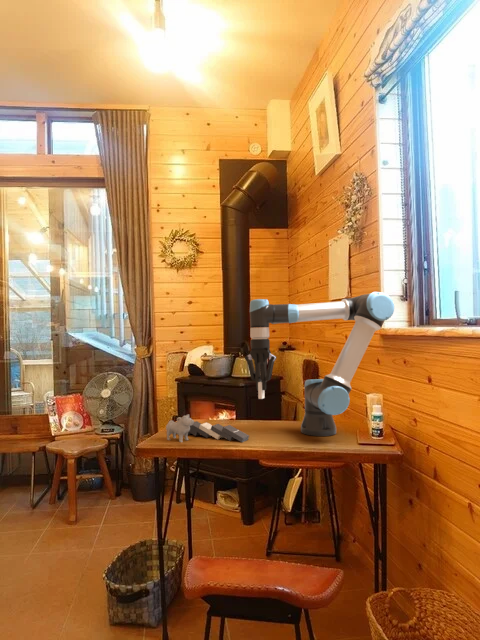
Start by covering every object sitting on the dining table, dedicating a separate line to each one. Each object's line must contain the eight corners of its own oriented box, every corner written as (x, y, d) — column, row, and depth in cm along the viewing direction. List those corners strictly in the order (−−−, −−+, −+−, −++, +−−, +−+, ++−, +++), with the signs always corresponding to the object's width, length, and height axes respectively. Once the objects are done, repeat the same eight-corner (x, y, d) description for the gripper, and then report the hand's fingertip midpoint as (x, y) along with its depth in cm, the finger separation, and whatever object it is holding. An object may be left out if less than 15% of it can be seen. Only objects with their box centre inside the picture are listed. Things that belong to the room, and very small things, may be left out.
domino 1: (204, 430, 192) (188, 420, 198) (196, 431, 188) (180, 422, 194) (203, 434, 192) (187, 424, 198) (195, 436, 188) (179, 426, 194)
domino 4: (249, 435, 182) (229, 424, 187) (243, 438, 178) (223, 426, 182) (248, 439, 182) (228, 428, 187) (241, 442, 178) (221, 431, 183)
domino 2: (215, 431, 189) (196, 421, 194) (208, 434, 185) (189, 423, 190) (213, 435, 189) (195, 425, 194) (206, 438, 185) (188, 427, 190)
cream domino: (225, 433, 187) (206, 422, 191) (219, 435, 182) (200, 424, 187) (224, 437, 187) (205, 426, 192) (217, 439, 183) (198, 428, 187)
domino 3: (237, 434, 184) (218, 423, 189) (231, 436, 180) (211, 425, 185) (236, 438, 185) (217, 427, 189) (230, 441, 180) (210, 429, 185)
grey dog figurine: (188, 443, 176) (188, 416, 176) (164, 439, 183) (164, 413, 183) (196, 441, 180) (196, 414, 181) (172, 437, 187) (173, 411, 188)
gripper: (278, 338, 178) (280, 397, 178) (249, 338, 184) (250, 396, 184) (271, 338, 172) (273, 400, 171) (240, 339, 178) (242, 399, 177)
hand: (261, 398), depth 177 cm, fingers closed
